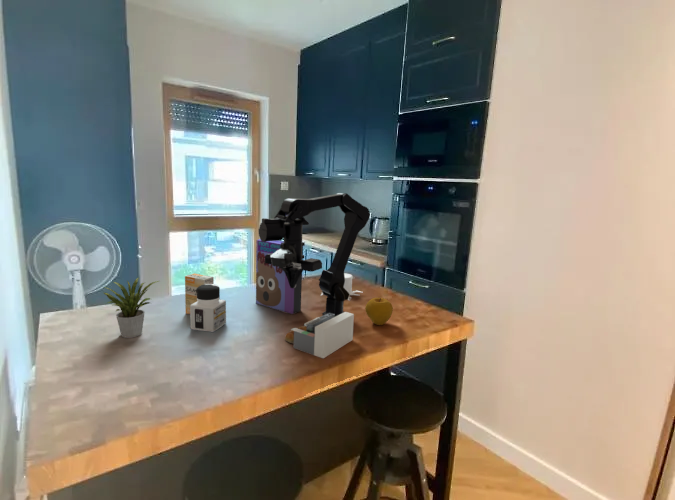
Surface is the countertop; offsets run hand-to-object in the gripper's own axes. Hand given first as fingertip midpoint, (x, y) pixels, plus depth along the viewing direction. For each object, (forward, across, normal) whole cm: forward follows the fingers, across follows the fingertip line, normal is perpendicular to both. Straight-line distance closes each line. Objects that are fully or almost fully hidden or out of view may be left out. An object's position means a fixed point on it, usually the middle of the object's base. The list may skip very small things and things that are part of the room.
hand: (292, 287), depth 119 cm
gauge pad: (+11, +16, -8) cm, 21 cm away
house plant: (+11, -31, -33) cm, 47 cm away
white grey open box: (+12, +15, -7) cm, 21 cm away
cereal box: (+12, -13, +9) cm, 20 cm away
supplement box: (+12, -29, -12) cm, 34 cm away
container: (+12, -19, -18) cm, 28 cm away
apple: (+12, +23, +17) cm, 31 cm away
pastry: (+12, +10, -8) cm, 18 cm away
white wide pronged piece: (+13, -4, +39) cm, 41 cm away
